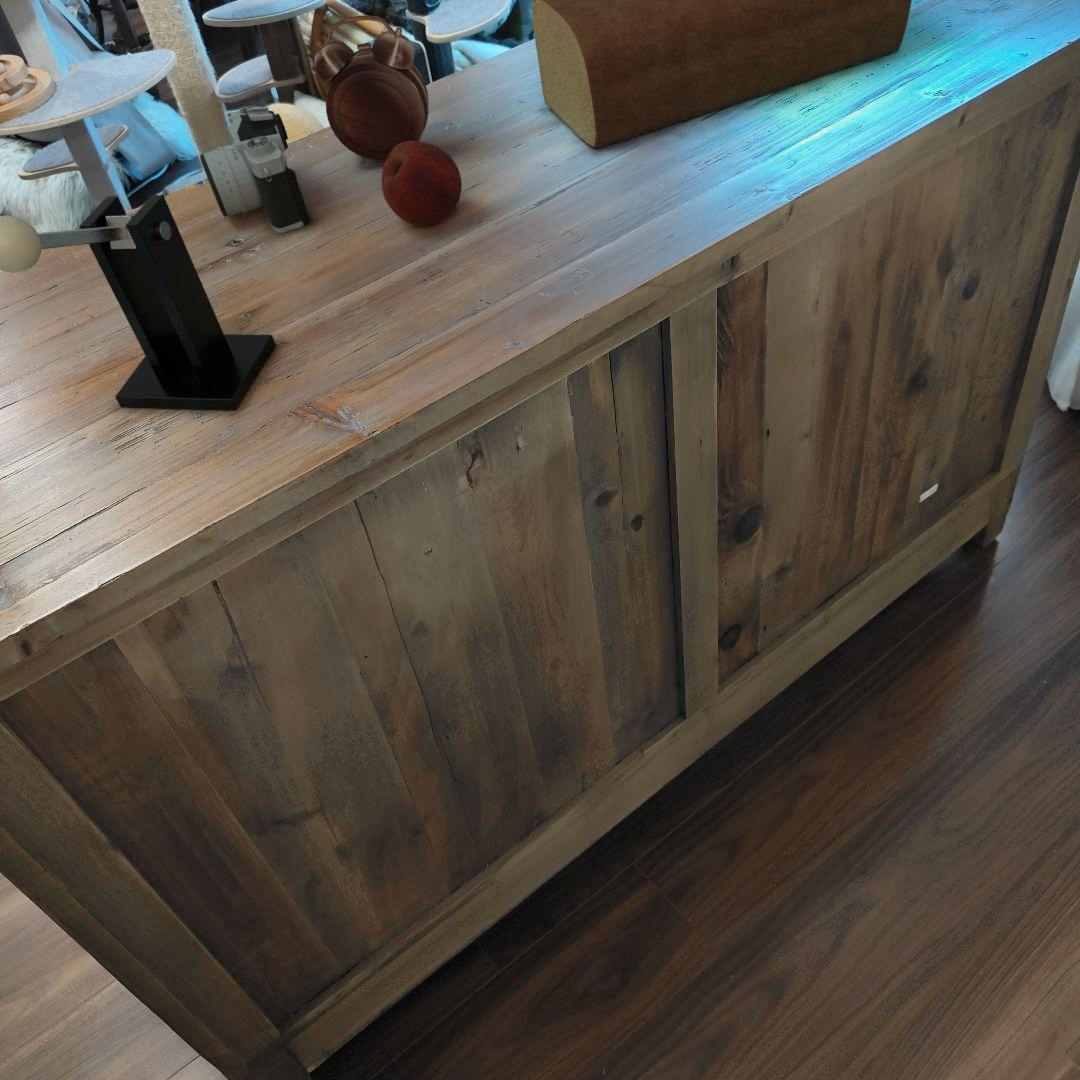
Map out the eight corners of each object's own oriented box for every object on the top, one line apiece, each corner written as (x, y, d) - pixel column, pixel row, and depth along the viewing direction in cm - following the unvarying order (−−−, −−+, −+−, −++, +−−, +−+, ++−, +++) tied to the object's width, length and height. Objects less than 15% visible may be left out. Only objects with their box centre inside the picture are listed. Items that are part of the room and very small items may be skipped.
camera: (212, 190, 112) (176, 101, 105) (289, 165, 114) (259, 76, 107) (237, 251, 102) (200, 157, 95) (321, 224, 104) (291, 129, 96)
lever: (20, 275, 64) (8, 216, 63) (-27, 275, 65) (-40, 217, 64) (166, 253, 79) (159, 205, 78) (126, 254, 80) (118, 206, 79)
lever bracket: (236, 411, 84) (159, 241, 72) (120, 407, 86) (28, 242, 75) (276, 345, 89) (210, 178, 78) (167, 344, 92) (88, 182, 81)
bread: (539, 105, 116) (522, -20, 106) (832, 14, 123) (841, -113, 113) (594, 157, 106) (581, 23, 96) (911, 54, 112) (928, -81, 103)
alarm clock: (441, 143, 113) (410, 0, 102) (436, 163, 110) (404, 18, 99) (346, 154, 114) (307, 14, 103) (339, 175, 111) (297, 32, 100)
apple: (387, 212, 104) (367, 136, 98) (460, 193, 104) (444, 117, 98) (397, 246, 98) (377, 169, 93) (474, 227, 99) (459, 149, 93)
